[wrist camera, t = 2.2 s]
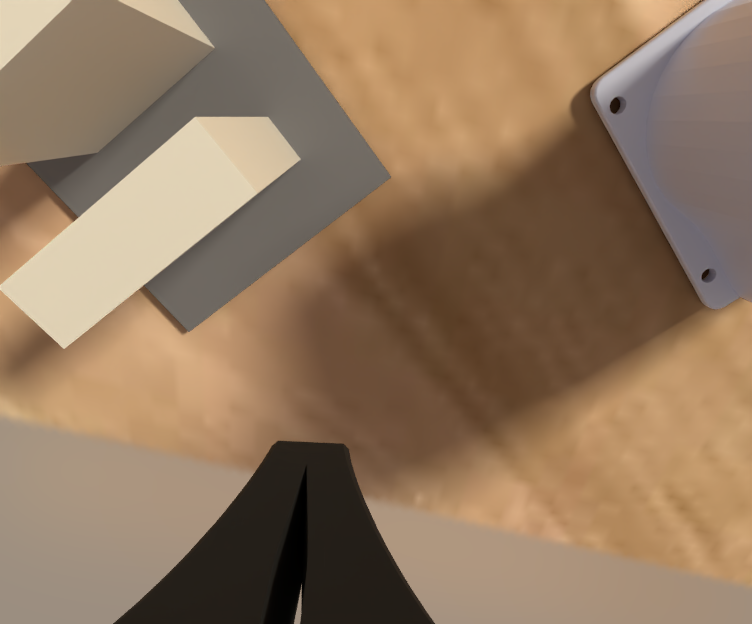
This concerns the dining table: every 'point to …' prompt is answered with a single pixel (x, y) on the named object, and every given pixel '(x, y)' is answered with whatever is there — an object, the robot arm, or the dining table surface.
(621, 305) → the dining table surface
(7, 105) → the domino
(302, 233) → the runner mat
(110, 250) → the domino
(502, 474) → the dining table surface
